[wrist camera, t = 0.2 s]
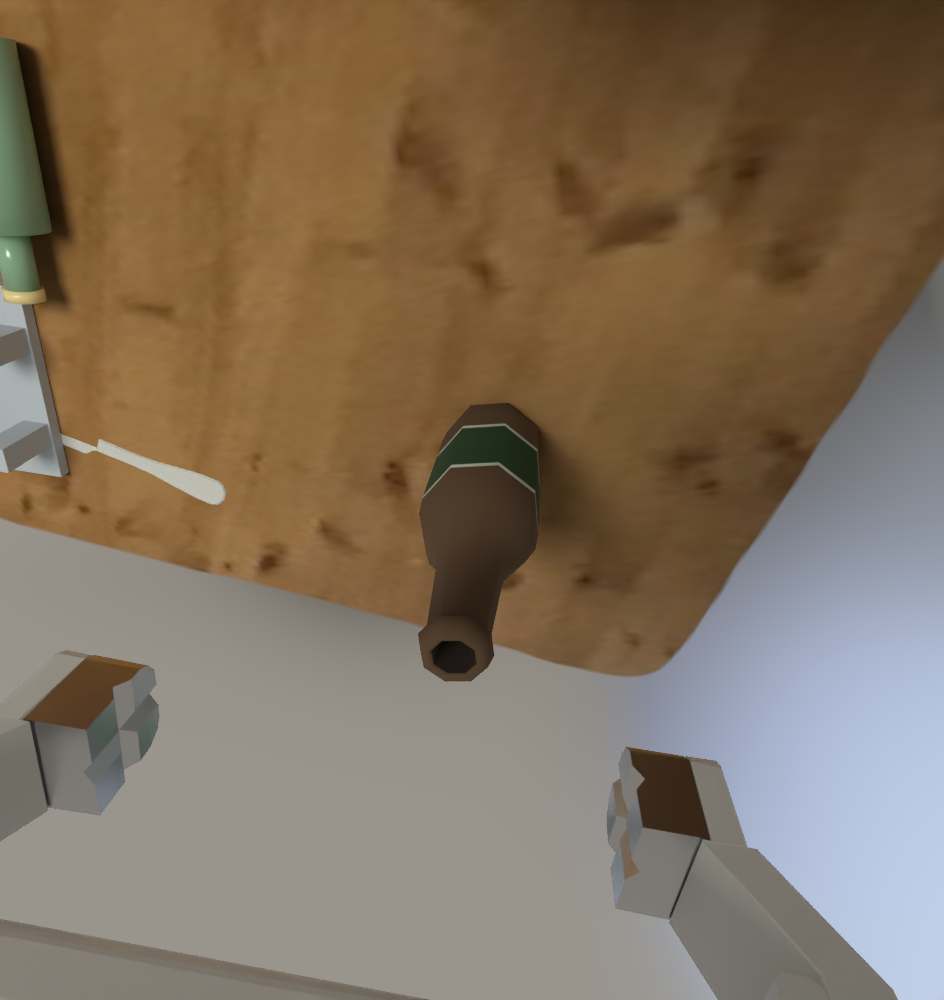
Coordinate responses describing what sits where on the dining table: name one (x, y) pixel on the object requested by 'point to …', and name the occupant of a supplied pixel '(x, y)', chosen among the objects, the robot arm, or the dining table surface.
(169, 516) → the dining table surface
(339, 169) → the dining table surface
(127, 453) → the butter knife
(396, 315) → the dining table surface
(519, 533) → the beer bottle
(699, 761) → the robot arm
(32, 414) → the rest
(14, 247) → the bottle
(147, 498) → the dining table surface
